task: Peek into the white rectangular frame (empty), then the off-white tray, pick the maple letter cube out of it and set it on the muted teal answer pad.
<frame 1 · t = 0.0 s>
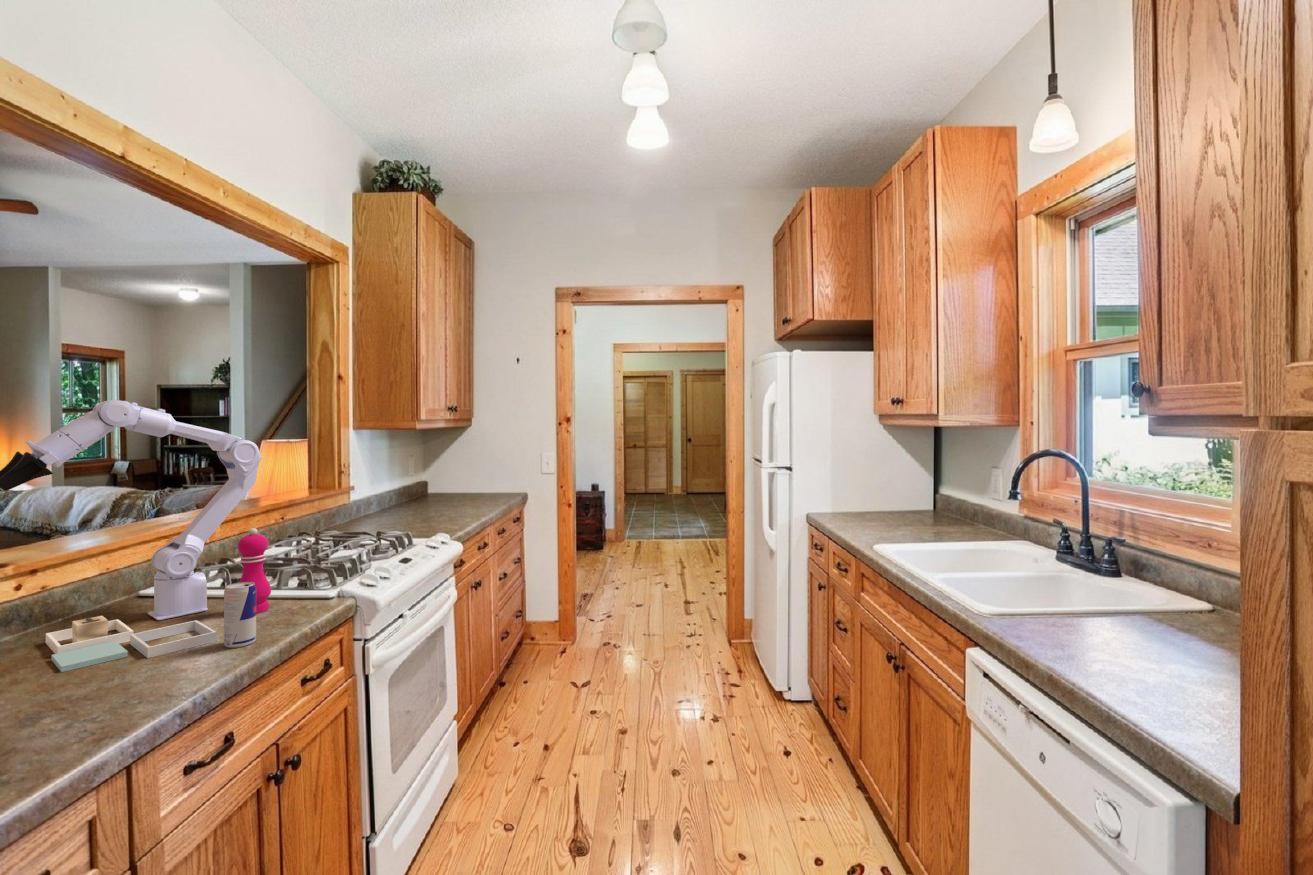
answer pad: (90, 658, 110), on the countertop
letter cube: (90, 642, 118), resting in white tray
white tray: (90, 641, 118), on the countertop
energy drink: (240, 644, 118), on the countertop
pepper mill: (253, 611, 139), on the countertop
white rectangular frame: (173, 642, 118), on the countertop
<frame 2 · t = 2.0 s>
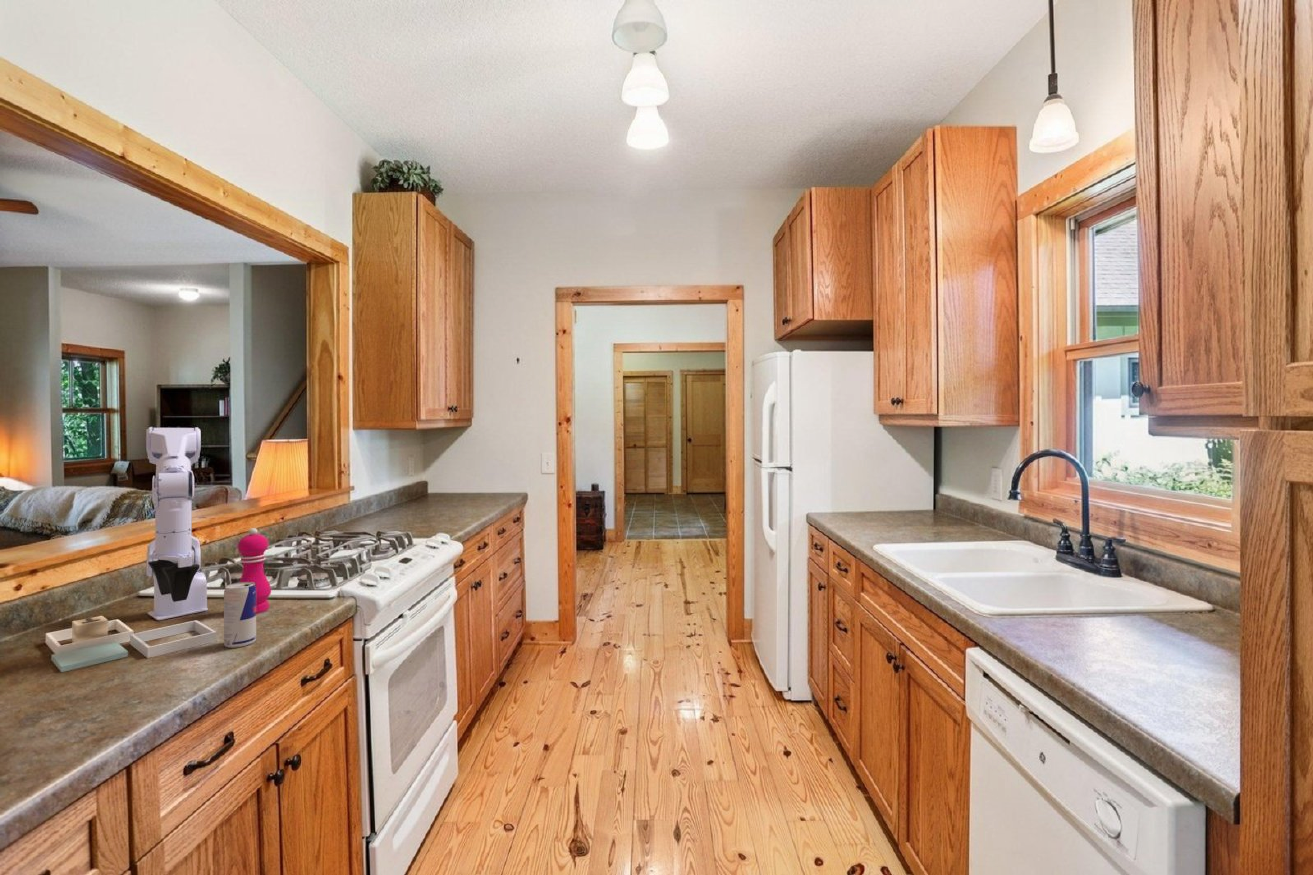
hand: (173, 597, 118), 9 cm above the countertop, tool pointing down, fingers open, 7 cm apart
nothing on the countertop moved.
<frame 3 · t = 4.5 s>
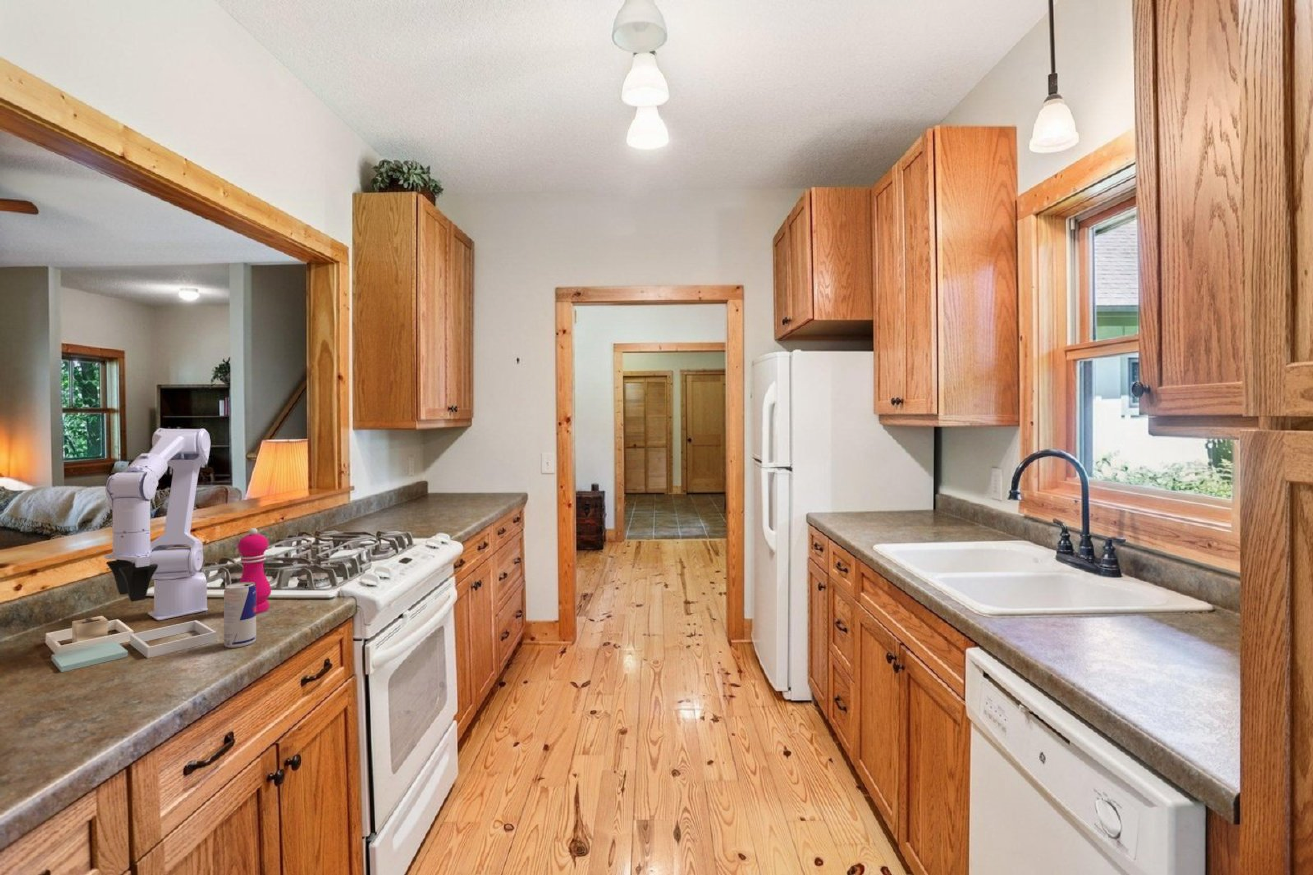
hand: (132, 596, 118), 9 cm above the countertop, tool pointing down, fingers open, 7 cm apart
nothing on the countertop moved.
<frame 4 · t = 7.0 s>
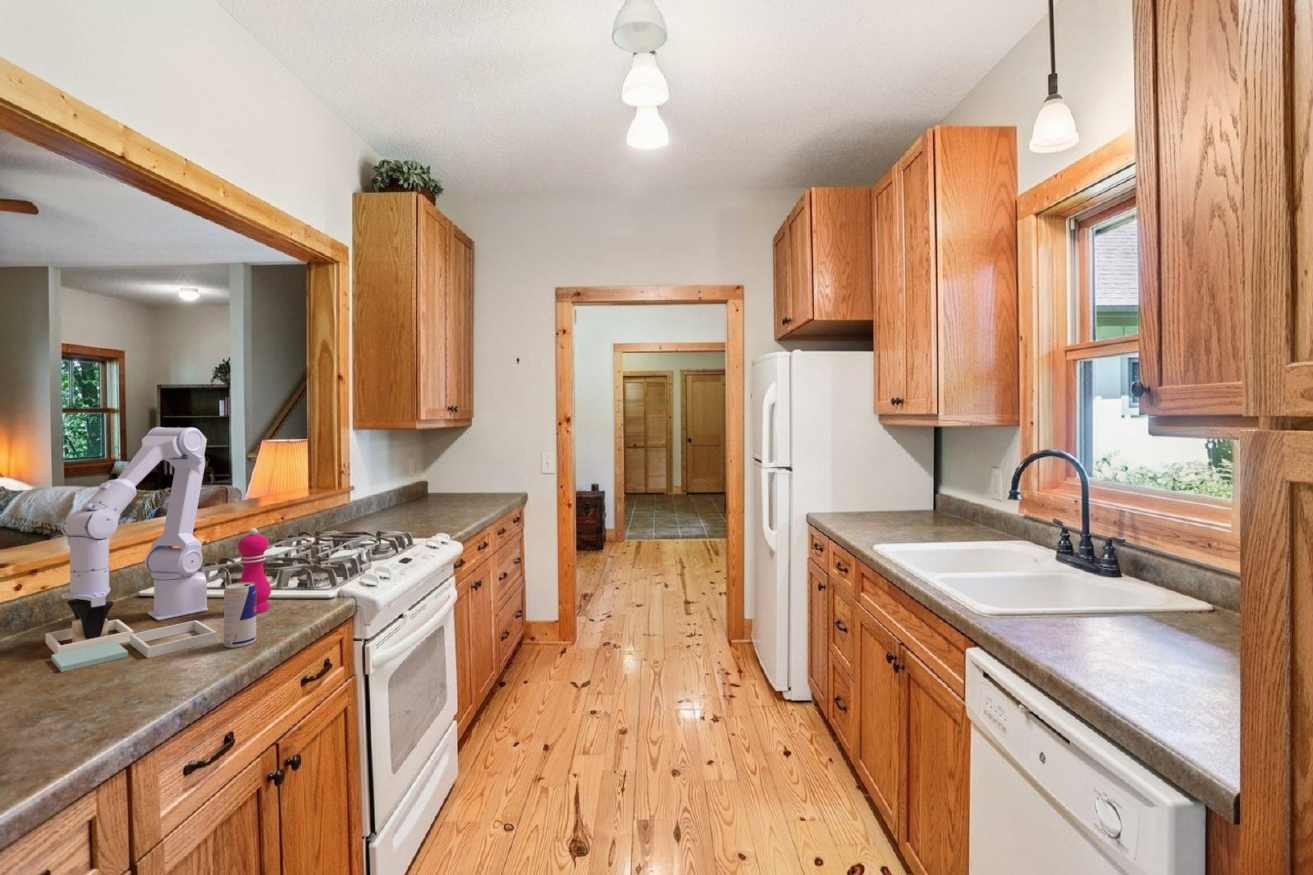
hand: (90, 635, 118), 1 cm above the countertop, tool pointing down, fingers closed on letter cube, 4 cm apart
letter cube: (90, 641, 118), resting in white tray, touching gripper
everything else where it was.
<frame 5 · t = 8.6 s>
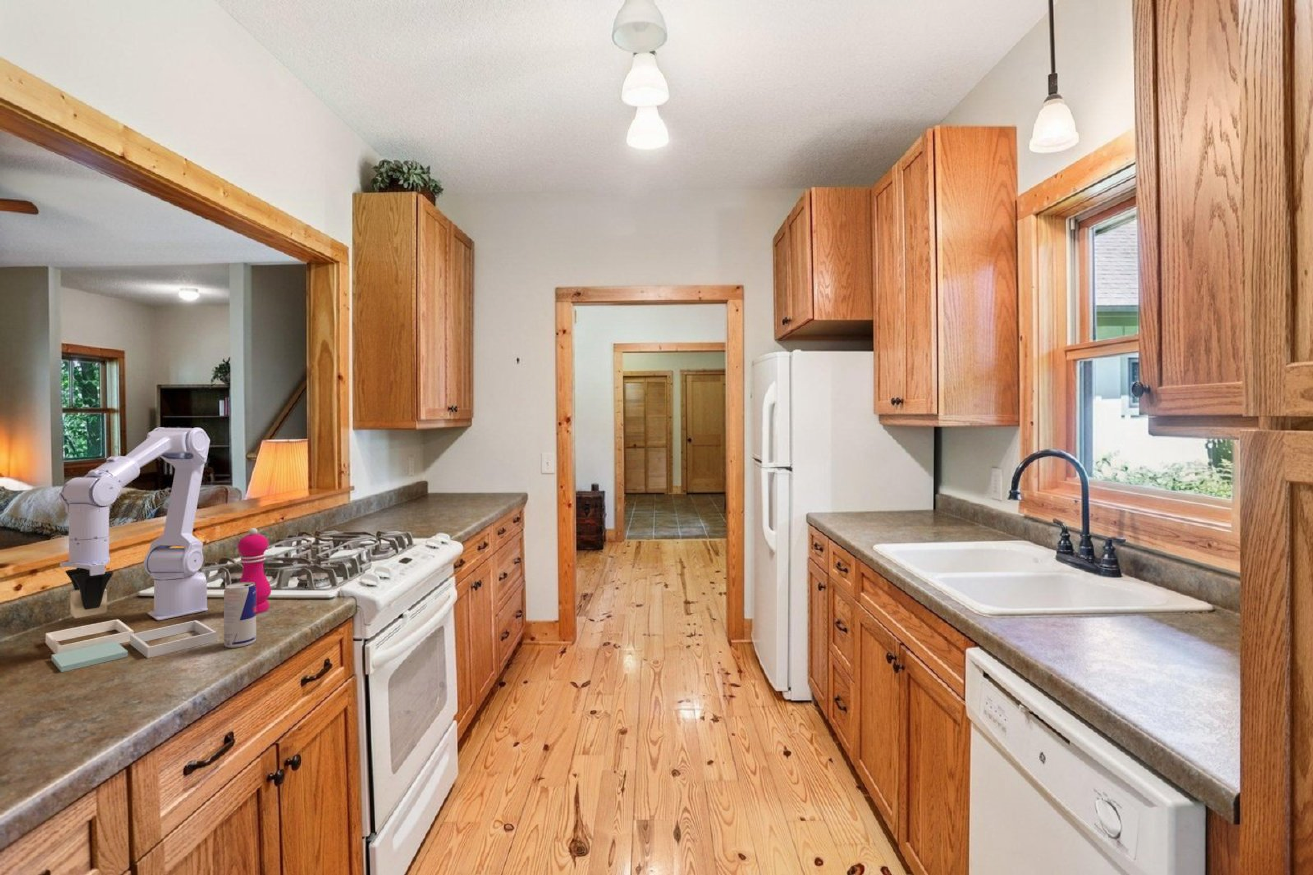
hand: (89, 605, 115), 9 cm above the countertop, tool pointing down, fingers closed on letter cube, 4 cm apart
letter cube: (88, 613, 115), point 7 cm above the countertop, touching gripper
everything else where it was.
when the fingers open (4 cm above the countertop, at t = 10.3 s): letter cube drops 1 cm, resting on answer pad.
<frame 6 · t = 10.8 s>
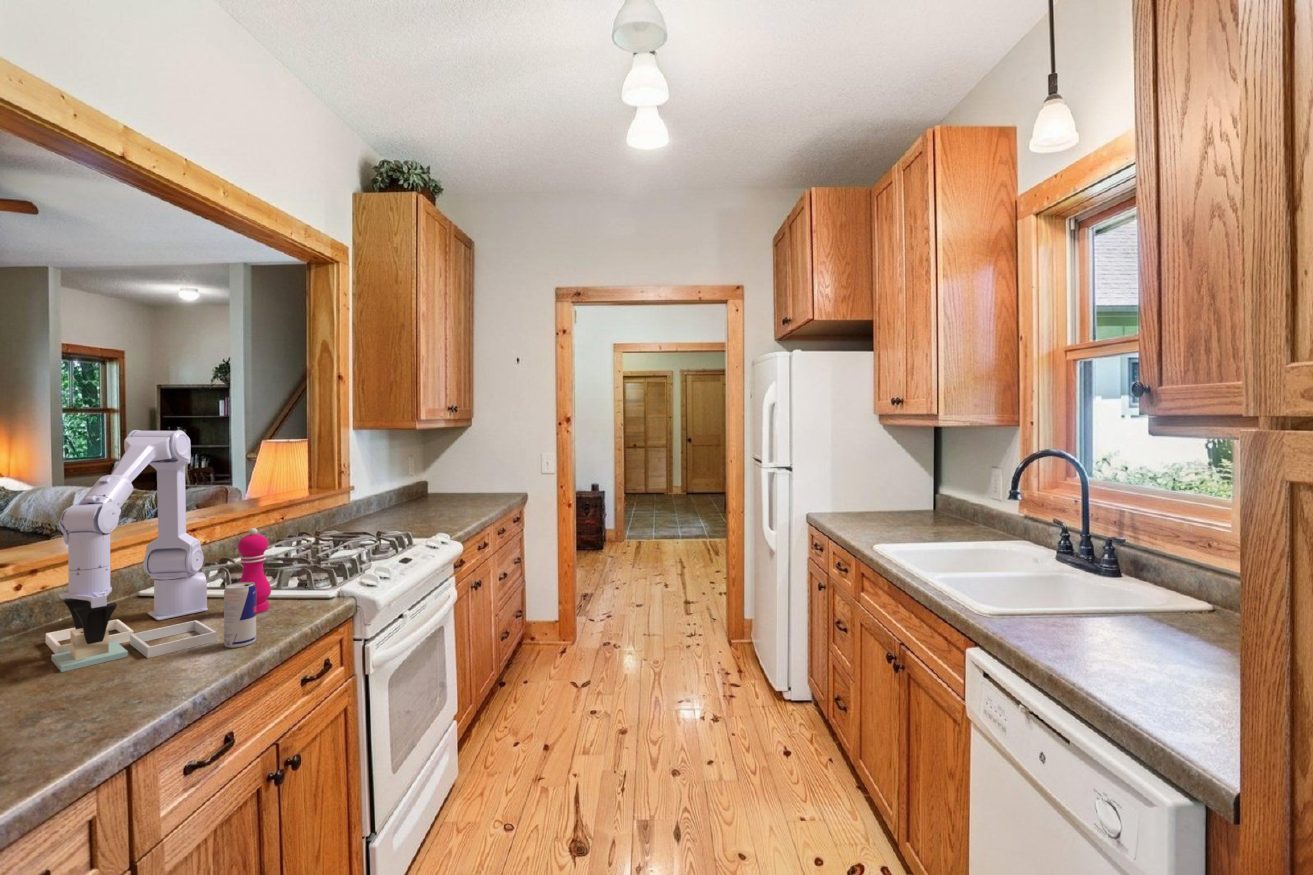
hand: (89, 637, 110), 4 cm above the countertop, tool pointing down, fingers open, 7 cm apart
letter cube: (89, 653, 110), point 1 cm above the countertop, touching answer pad
everything else where it was.
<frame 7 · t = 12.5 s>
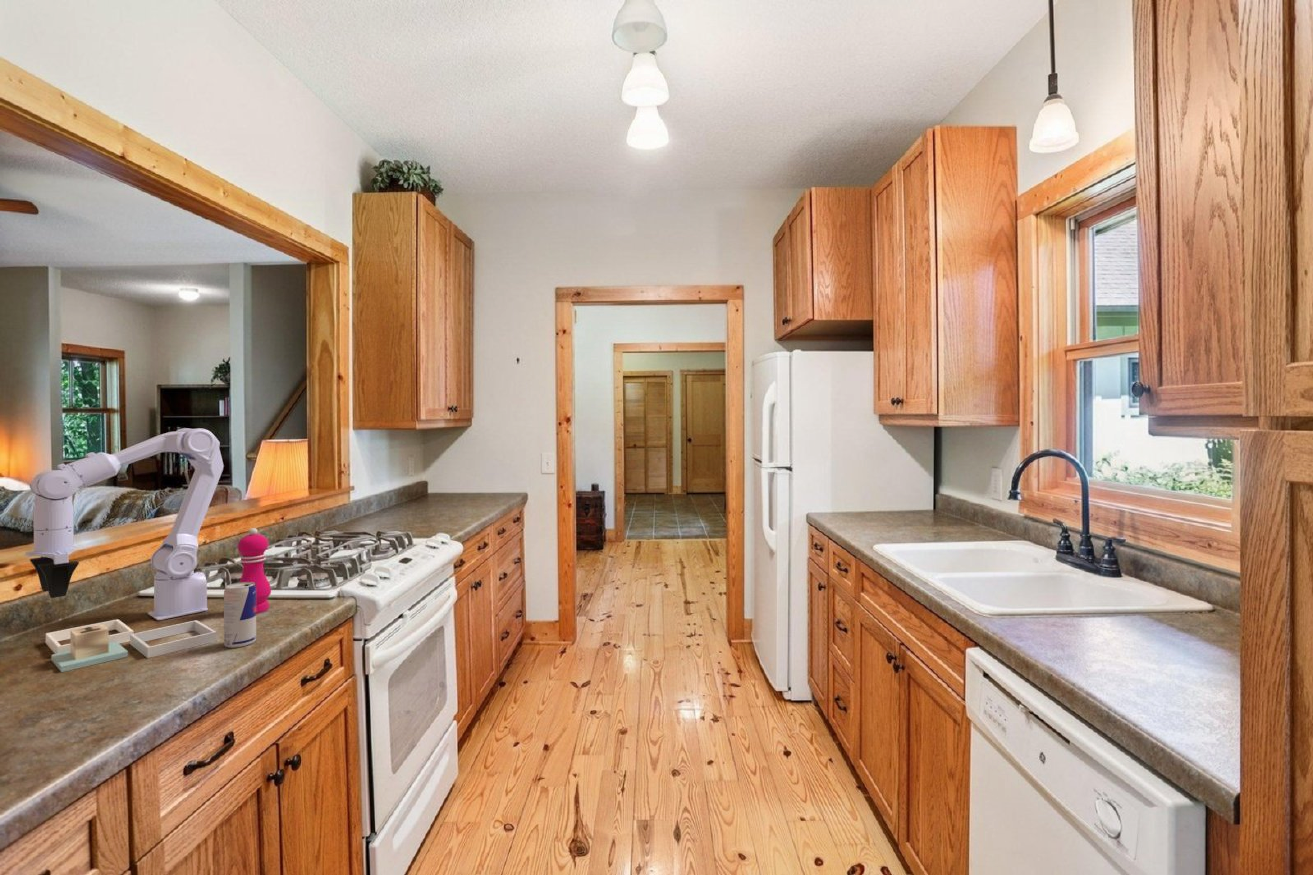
hand: (54, 593, 120), 9 cm above the countertop, tool pointing down, fingers open, 7 cm apart
nothing on the countertop moved.
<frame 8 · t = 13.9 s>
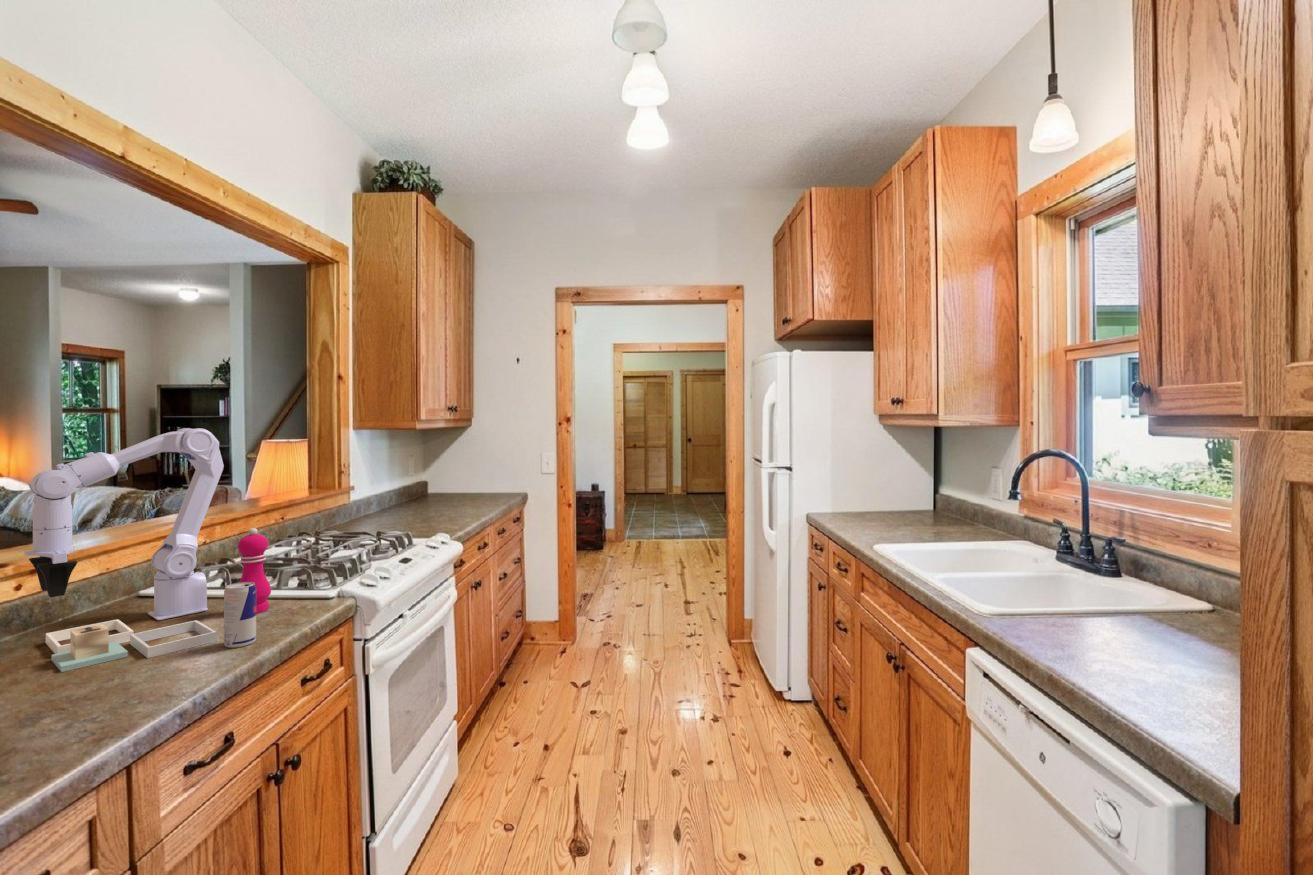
hand: (53, 592, 120), 9 cm above the countertop, tool pointing down, fingers open, 7 cm apart
nothing on the countertop moved.
at the end: letter cube inside the target area on the answer pad (0.1 cm from its centre), point 1.0 cm above the answer pad's base; letter cube tilted 0°; the gripper is holding nothing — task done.
